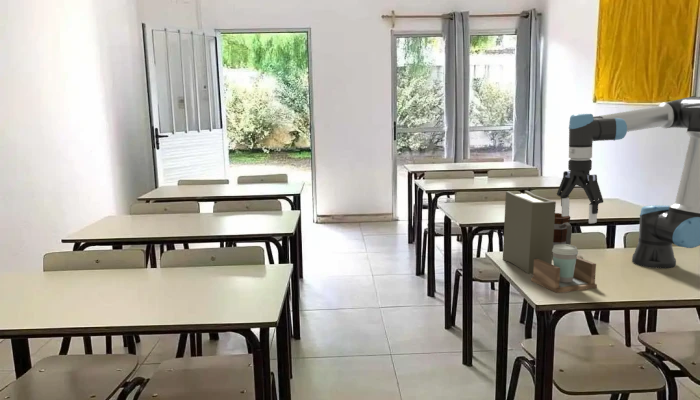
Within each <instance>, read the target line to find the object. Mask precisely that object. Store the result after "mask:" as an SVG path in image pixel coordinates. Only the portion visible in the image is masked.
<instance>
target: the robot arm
mask: <svg viewBox="0 0 700 400" xmlns="http://www.w3.org/2000/svg"><path fill="white" fill-rule="evenodd" d="M659 127H661V129H671V128H680V129H681V128H682V129H687V130H686V133H687V135H688V136H689V141H688V146H687V150H686V155H685V159H684V163H683V164H684V165H683V168H682V172H681V176H680V180H679V185H678V188H677V193H676V196H675V197H676V198H675V202H674V203H671V205H664V204H662V205H660V204H659V205H658V204H656V205H645V206H644V205H643V206H642V207H641V209H640V214H639V228H638V231H639V232H638V242H637V245H636V247H635V251H634V252H633V254H632V258H631V262H632V263H633V264H635V265H637V266H639V267H645V268H650V269H661V270H662V269H666V270H667V269H673V268H675V267H676V265H677V259H676V258H675V253H674V248H673V245H675V246H677V247H681V248H686V249H694V248H697V247H699V246H700V96H688V97H683V98H681V99H676V100H670V101H666V102H661V103H659V104H658V106H653V107H647V108H639V109H634V110H628V111H622V112H621V111H620V112H615V113H609V114H603V115H597V116H596V115H595V116H594V115H593V114H592V113H574V114H571V115H570V117H569V123H568V158H569V159H568V164H567V165H568V170H567V171H563V174H562V179H561V182H560V184H559V186H558V190H557V193H556V196H559V197H560V206H561V214H562V216H563V217H564V216H570V194H571V193H572V191H573V190H574V188H575V187H581V188H582V189H583V190H584V192H585V194H586V196H587V198H588V200H589V202H590V203H589V204H588V224H595V223H597V221H598V213H599V204H603V203H604V198H603V195H602V191H601V189H600V186H599V182H598V176H597V174H590V171H592V170H593V169H592V168H593V167H592V166H593V165H592V164H593V160H592V158H593V143H594V142H596V141H597V142H600V141H604V142H605V141H617V140H618V141H619V140H620V141H621V140H623V139H624V138H625V137H626V135H627V133H628V132H634V131H635V132H636V131H641V130H648V129H652V128H653V129H654V128H659Z"/></svg>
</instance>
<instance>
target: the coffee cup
mask: <svg viewBox="0 0 700 400" xmlns="http://www.w3.org/2000/svg"><path fill="white" fill-rule="evenodd" d="M552 252H553V253H552V263H553V265H554V266H557V267H559V268H560V280H559V282H564V283H568V282H572V281H573V275H574V270H575V264H576V259H577V257H578V254H579V250H578V247H577V246H576V245H573V244H570V245H568V244H557V245H554V247H553V249H552Z"/></svg>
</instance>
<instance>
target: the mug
mask: <svg viewBox="0 0 700 400" xmlns="http://www.w3.org/2000/svg"><path fill="white" fill-rule="evenodd" d="M570 221H571V216H570V215H569V216H564V217H563V216H562V212H561V213H560V212H559V213H558V212H555V222H554V237H553V247H554V245H557V244H568V245H572V244H571V243H572V242H571V241H572V231H573V229H572V225H571V224H570Z"/></svg>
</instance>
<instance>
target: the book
mask: <svg viewBox="0 0 700 400" xmlns="http://www.w3.org/2000/svg"><path fill="white" fill-rule="evenodd" d="M504 202H505V203H504V222H503V225H504V226H503V244H502V260H503V261H505V262H508V263H510V264H512V265H514V266H516V267H518V268H520V270H521V271H524V272H525V273H526V274H529V275H533V270H534V259H539V260H542V261H544V262H547V263H549V264H552V263H553V252H552V249H553V237H554V222H555V213H556V206H557V202H556V200H555V201H554V200H552V199H549V198H545V197H542V196H539V195H537V194H534V193H533V192H531V191H529V190H524V193H517V194H515V193H513V192H511V191H509V190H508V191H505V201H504ZM552 265H553V264H552Z"/></svg>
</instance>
